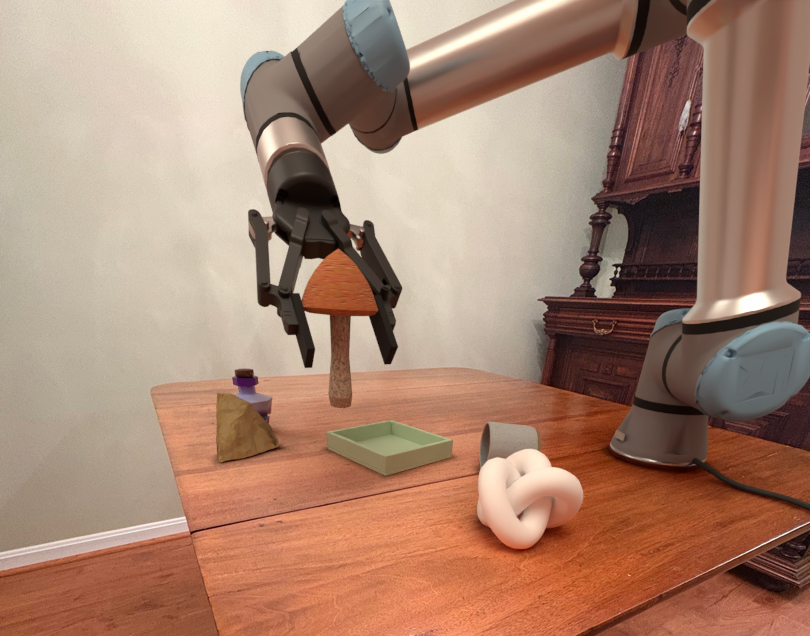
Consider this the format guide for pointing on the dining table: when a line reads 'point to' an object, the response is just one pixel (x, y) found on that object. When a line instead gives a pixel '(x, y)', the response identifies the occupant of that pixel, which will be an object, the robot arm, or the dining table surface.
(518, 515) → the white knot sculpture
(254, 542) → the dining table surface
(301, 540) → the dining table surface
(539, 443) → the ceramic mug
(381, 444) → the tray
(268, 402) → the potion bottle
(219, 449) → the rock
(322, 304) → the mushroom
